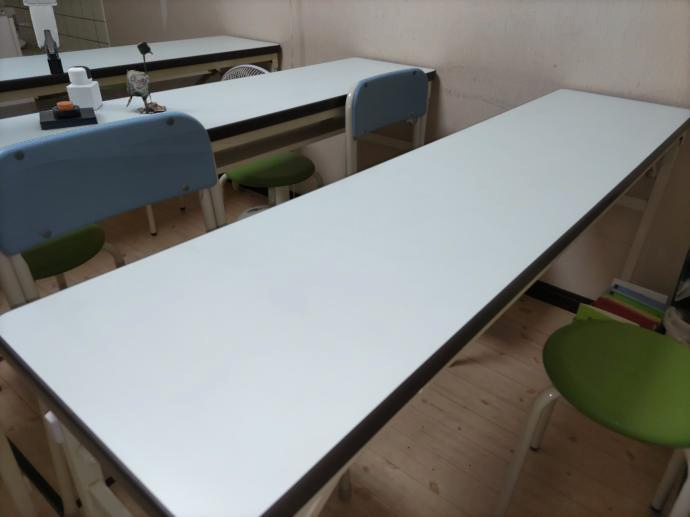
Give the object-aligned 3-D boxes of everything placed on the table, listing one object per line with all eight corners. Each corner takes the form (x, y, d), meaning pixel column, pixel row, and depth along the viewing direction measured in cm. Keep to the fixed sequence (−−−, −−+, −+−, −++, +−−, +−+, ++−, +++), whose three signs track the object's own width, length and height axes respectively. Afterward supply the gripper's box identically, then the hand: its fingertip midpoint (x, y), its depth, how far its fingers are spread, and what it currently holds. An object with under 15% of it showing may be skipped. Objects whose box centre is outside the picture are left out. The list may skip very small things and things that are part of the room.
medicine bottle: (79, 104, 160) (69, 64, 154) (103, 104, 161) (94, 64, 155) (72, 110, 154) (60, 69, 148) (96, 110, 155) (86, 69, 149)
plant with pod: (131, 108, 159) (117, 39, 148) (169, 107, 160) (157, 39, 150) (125, 116, 152) (110, 44, 142) (165, 115, 153) (152, 43, 143)
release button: (58, 111, 141) (56, 105, 140) (57, 108, 144) (56, 101, 143) (74, 110, 142) (73, 104, 141) (73, 106, 145) (72, 100, 144)
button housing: (41, 129, 138) (37, 115, 136) (41, 119, 146) (37, 105, 144) (97, 124, 144) (94, 110, 141) (94, 114, 152) (91, 101, 150)
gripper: (22, -4, 133) (41, 69, 142) (21, 1, 121) (42, 80, 131) (54, -4, 136) (71, 68, 145) (57, 1, 125) (74, 79, 134)
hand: (57, 74), depth 138 cm, fingers closed
